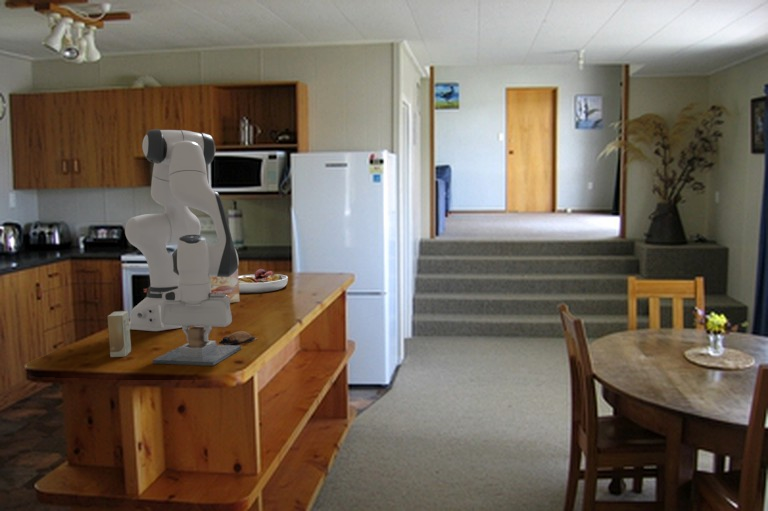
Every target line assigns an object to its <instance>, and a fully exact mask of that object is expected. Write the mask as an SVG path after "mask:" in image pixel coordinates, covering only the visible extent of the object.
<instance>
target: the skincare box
mask: <svg viewBox="0 0 768 511" xmlns="http://www.w3.org/2000/svg"><path fill="white" fill-rule="evenodd" d="M129 322H130V314H129V310H124V311H123V310H119V311H113V312H111V313H110V314H108V315H107V327H108V328H107V329H108V340H109V355H110V358H119V357H120V358H121V357H123V358H124V357H125V358H126V356H128V355H129V354H130V353H131V352H132V344H131V343H132V342H131V329H130V327H129Z"/></svg>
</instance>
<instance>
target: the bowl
mask: <svg viewBox="0 0 768 511" xmlns="http://www.w3.org/2000/svg"><path fill="white" fill-rule="evenodd" d="M238 279H239V294H259V293H267V292H268V293H269V292H273V291H278V290H281V289H283V288H285V286H286V285H287V284H288V282H289V277H288V275H284V274H275V273H274V271H272V270H268V271H266V270H265V269H263V268H259V269H257V270H256V271H255V273H254V274H253V273H252V274H242V275H238Z"/></svg>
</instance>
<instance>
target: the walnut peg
mask: <svg viewBox="0 0 768 511" xmlns="http://www.w3.org/2000/svg"><path fill="white" fill-rule="evenodd" d="M205 331H206V330H204V326H191V327H190V328H189V329H188V341H187V342H188V343H189V347H201V346H203V345H204V344H206V343H207V342H202V341H201V336H202V335H204V333H205Z"/></svg>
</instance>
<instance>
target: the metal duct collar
mask: <svg viewBox="0 0 768 511" xmlns="http://www.w3.org/2000/svg"><path fill="white" fill-rule="evenodd" d="M240 350H242V345H237V346H233V345H223V344H217V340H208V341H207V343H206V344H204V345H203V346H201V347H189V342H187V343H184V344H183V345H180V346H178V347H176V348H175V349H172V350H170V351H168V352H165V353H164V354H162V355H159V356H157V357H156V358H154V359H152V364H153V365H154V364H156V365H157V364H158V365H180V366H181V365H183V366H205V367H206V366H207V367H208V366H209V367H210V366H211V367H212V366H216V365H217V364H219V363H221V362H222V361H224V360H227V358H229V357H230V356H232V355H233V354H235V353H237V352H239V351H240Z"/></svg>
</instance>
